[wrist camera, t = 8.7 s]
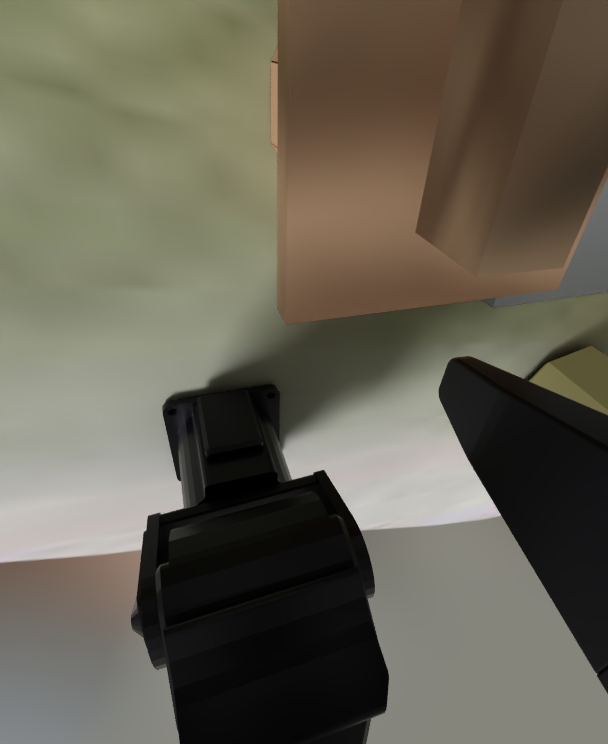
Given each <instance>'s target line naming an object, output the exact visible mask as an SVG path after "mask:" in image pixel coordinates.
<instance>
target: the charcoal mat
mask: <svg viewBox="0 0 608 744" xmlns="http://www.w3.org/2000/svg"><path fill="white" fill-rule="evenodd" d="M607 292H608V178H607V180H606V183H605V185H604V187H603V189H602V192H601V194H600V196H599V198H598V201H597V203H596V205H595V207H594V210H593V212H592V214H591V216H590V218H589V221H588V223H587V225H586V227H585V230H584V232H583V234H582V236H581V239H580V241H579V243H578V245H577V248H576V250H575V252H574V254H573V256H572V259H571V261H570V263H569V265H568V268H567V270H566V272H565V274H564V277H563V279H562V281H561V283H560V286H559V288H558V290H552V291H545V292H537V293H529V294H521V295H513V296H505V297H498V298H490V299H482V300H483V301H484V302H486V303H487V304H488V305H489V306H491V307H492V308H495V307H503V306H510V305H518V304H525V303H533V302H540V301H547V300H555V299H562V298H570V297H577V296H585V295H592V294H599V293H607Z"/></svg>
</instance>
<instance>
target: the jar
mask: <svg viewBox="0 0 608 744" xmlns="http://www.w3.org/2000/svg"><path fill="white" fill-rule="evenodd" d="M529 382H532V383H534V384H536V385H539V386H541V387H543V388H546V389H548V390H550V391H553V392H555V393H557V394H560V395H562V396H564V397H567V398H569V399H571V400H574V401H576V402H578V403H581V404H583V405H585V406H588V407H590V408H592V409H595V410H597V411H599V412H602V413H604V414H606V415H608V356H606V355H605V354H603V353H602V352H600V351H599V350H597V349H596V348H594V347H593V346H589V347H587V348H584V349H582V350H579V351H576V352H574V353H571V354H569V355H566V356H563V357H561V358H558V359H556V360H553V361H551V362H548V363H546V364H544V365H543V366H542V367H541V368H540V369H539V370H538V371H537V372H536V373H535V374H534V376H533V377H532V378H531V379H530V380H529Z"/></svg>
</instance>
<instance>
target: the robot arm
mask: <svg viewBox="0 0 608 744" xmlns="http://www.w3.org/2000/svg"><path fill="white" fill-rule="evenodd" d="M270 392H273V393H272V394H268V393H270ZM279 398H280V394H279V391H278V388H277V387H276V386H275V385H273V384H269V385H263V386H257V387H251V388H244V389H238V390H232V391H226V392H220V393H214V394H208V395H201V396H195V397H189V398H183V399H177V400H171V401H167V402H166V403H164V405H163V407H162V410H163V417H164V421H165V426H166V430H167V435H168V439H169V444H170V448H171V453H172V457H173V462H174V466H175V471H176V475H177V479H178V480H179V481H181V485H182V495H183V504H184V509H180V510H176V511H172V512H168V513H165V514H161V513H157V514H153V515H149V516H148V520H147V530H146V531H144V535H143V544H142V554H141V563H140V572H139V582H138V590H137V597H136V601H135V604H134V607H133V611H132V614H131V624H132V628H133V630H134V631H135V632H136V633H138V634H139V635H141V636H142V637H143V638H144V641H145V644H146V647H147V649H148V653H149V656H150V659H151V662H152V664H153V666H154V668H155V669H157V670H159V669H161V668H164V667H167V671H168V677H169V683H170V689H171V695H172V701H173V707H174V713H175V719H176V725H177V730H178V733H179V740H180V744H366V741H367V736H368V731H369V726H370V721H371V718H373V717H375V716H378V715H380V714H383V713H385V711H386V707H387V696H388V683H389V674H388V670H387V667H386V664H385V661H384V658H383V655H382V652H381V649H380V646H379V642H378V639H377V635H376V631H375V627H374V623H373V619H372V615H371V612H370V607H369V603H368V600H367V599H368V598H371V597H373V595H374V592H375V584H374V575H373V570H372V565H371V561H370V557H369V554H368V551H367V547H366V544H365V541H364V539H363V536H362V534H361V531H360V529H359V527H358V525H357V523H356V521H355V519H354V517H353V516H352V514H351V513H350V511H349V509H348V508H347V506H346V505H345V503H344V501H343V500H342V498H341V496H340V495H339V493H338V492H337V490H336V488H335V487H334V485H333V484H332V482H331V480H330V479H329V477H328V476H327V474H326V472H325V471H324V470H321V471H318V472H314V473H313V475H309V476H306V477H302V478H298V479H294V480H292V479H291V476H290V473H289V470H288V467H287V464H286V461H285V458H284V455H283V453H282V450H281V447H280V444H279ZM439 398H440V401H441V403H442V405H443V407H444V410H445V412H446V414H447V416H448V418H449V420H450V422H451V425H452V427H453V429H454V431H455V433H456V435H457V437H458V439H459V442H460V444H461V446H462V448H463V450H464V452H465V454H466V456H467V458H468V460H469V462H470V464H471V465H472V467H473V469H474V471H475V472H476V474H477V476H478V477H479V479H480V481H481V482H482V484H483V486H484V487H485V489H486V491H487V492H488V494H489V496H490V497H491V499H492V501H493V502H494V504H495V506H496V507H497V509H498V511H499V512H500V514H501V516H502V517H503V519H504V520H505V522H506V524H507V526H508V527H509V529H510V531H511V532H512V534H513V535H514V537H515V539H516V541H517V542H518V544H519V546H520V547H521V549H522V551H523V552H524V554H525V555H526V557H527V559H528V561H529V562H530V564H531V566H532V567H533V569H534V571H535V572H536V574H537V576H538V577H539V579H540V581H541V582H542V584H543V586H544V587H545V589H546V591H547V592H548V594H549V596H550V598H551V599H552V601H553V603H554V604H555V606H556V608H557V609H558V611H559V612H560V614H561V616H562V617H563V619H564V621H565V623H566V624H567V626H568V627H569V629H570V631H571V633H572V634H573V636H574V638H575V639H576V641H577V643H578V644H579V646H580V648H581V649H582V651H583V653H584V654H585V656H586V657H587V659H588V661H589V663H590V664H591V666H592V668H593V669H594V671H595V672H596V673H597V677H598V678H599V680H600V682H601V683H602V685H603V687H604V688H605V690H606V692H607V693H608V415H606V414H604V413H602V412H599V411H597V410H595V409H592V408H590V407H588V406H585V405H583V404H581V403H578V402H576V401H574V400H571V399H569V398H567V397H564V396H562V395H560V394H557V393H555V392H553V391H550V390H548V389H546V388H543V387H541V386H539V385H536V384H534V383H532V382H529V381H527V380H525V379H522V378H520V377H518V376H515V375H513V374H511V373H508V372H506V371H504V370H501V369H499V368H497V367H494V366H492V365H490V364H487V363H485V362H483V361H480V360H478V359H476V358H473V357H469V356H466V357H457V358H453V359H451V360H450V361H449V363H448V365H447V367H446V370H445V373H444V376H443V378H442V381H441V384H440V387H439ZM169 409H175V410H173V411H170V410H169Z"/></svg>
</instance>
